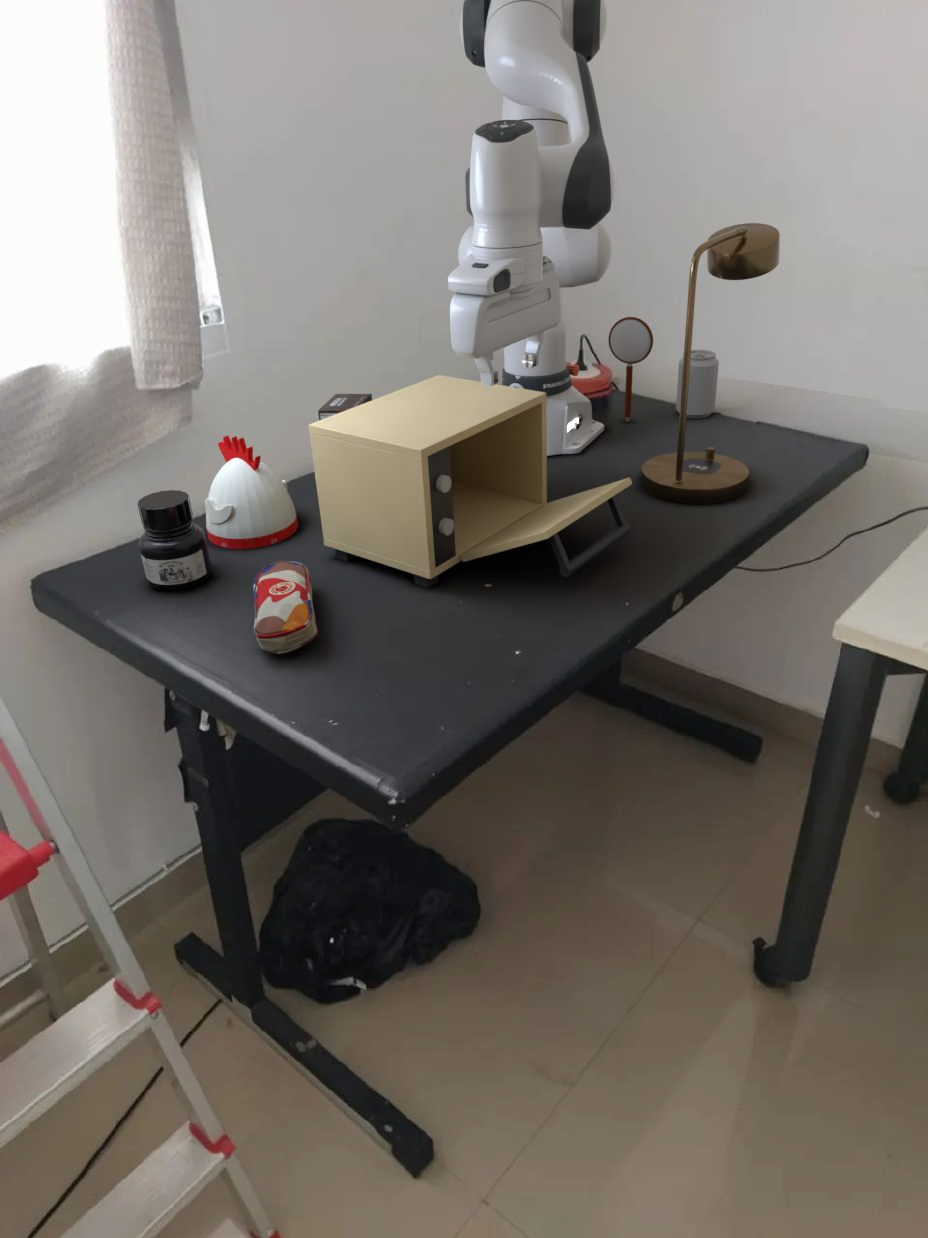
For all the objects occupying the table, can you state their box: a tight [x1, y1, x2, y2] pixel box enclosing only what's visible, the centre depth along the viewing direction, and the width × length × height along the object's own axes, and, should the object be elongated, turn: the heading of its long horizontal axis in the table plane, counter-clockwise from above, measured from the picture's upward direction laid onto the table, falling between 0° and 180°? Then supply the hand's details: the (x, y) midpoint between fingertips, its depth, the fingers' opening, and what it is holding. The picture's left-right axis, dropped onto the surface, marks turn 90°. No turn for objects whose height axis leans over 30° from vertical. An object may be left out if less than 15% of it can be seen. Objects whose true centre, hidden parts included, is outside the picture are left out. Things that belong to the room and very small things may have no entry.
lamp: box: [640, 222, 781, 505], centre depth 149 cm, size 17×27×38 cm, turn 145°
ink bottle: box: [136, 489, 212, 592], centre depth 131 cm, size 10×9×12 cm
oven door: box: [461, 476, 633, 578], centre depth 131 cm, size 22×7×15 cm
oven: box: [308, 374, 548, 589], centre depth 136 cm, size 28×21×20 cm
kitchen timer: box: [204, 434, 299, 550], centre depth 144 cm, size 14×14×15 cm
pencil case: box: [253, 560, 319, 655], centre depth 120 cm, size 11×20×5 cm, turn 177°
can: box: [675, 349, 720, 419], centre depth 184 cm, size 8×8×12 cm
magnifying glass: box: [608, 316, 654, 423], centre depth 179 cm, size 9×2×20 cm, turn 62°
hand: (510, 375), depth 126 cm, fingers open, 8 cm apart
